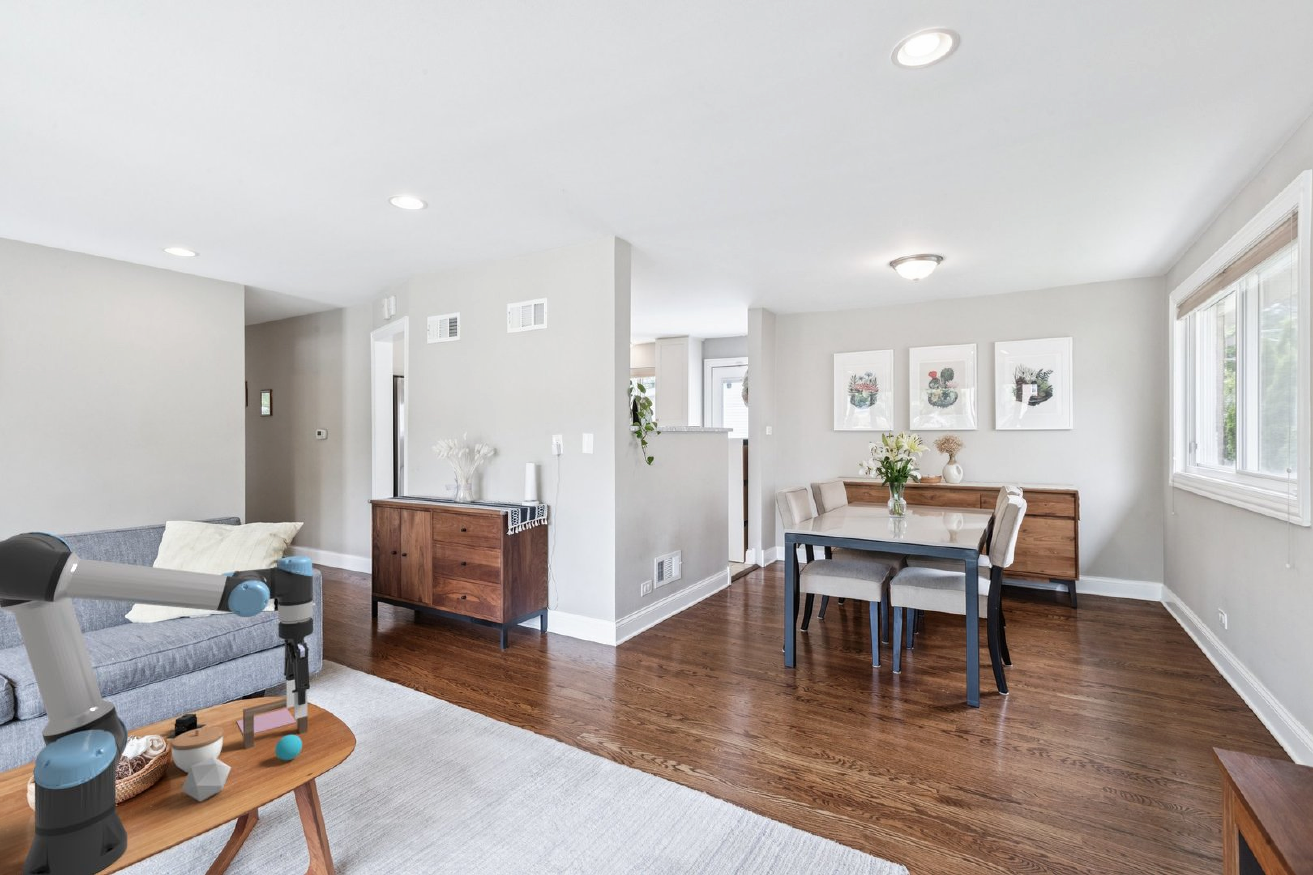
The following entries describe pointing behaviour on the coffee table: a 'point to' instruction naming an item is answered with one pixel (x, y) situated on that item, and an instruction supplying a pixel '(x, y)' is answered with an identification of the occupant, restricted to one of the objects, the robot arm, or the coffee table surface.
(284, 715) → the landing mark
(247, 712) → the bridge
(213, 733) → the lidded jar
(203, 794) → the die
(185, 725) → the black block on base
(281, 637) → the robot arm
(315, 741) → the coffee table surface
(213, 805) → the coffee table surface
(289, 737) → the ball
